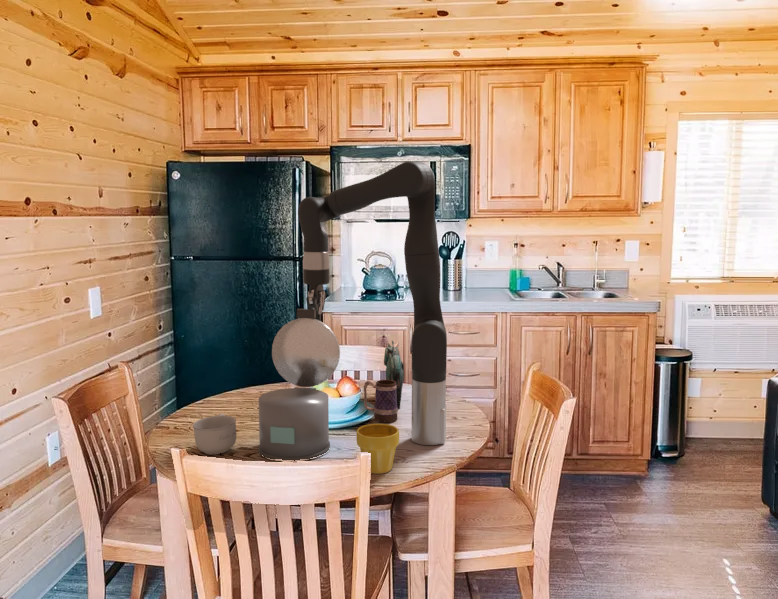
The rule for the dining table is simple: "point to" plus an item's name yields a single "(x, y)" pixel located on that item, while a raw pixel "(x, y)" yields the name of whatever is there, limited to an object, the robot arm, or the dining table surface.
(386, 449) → the plant pot
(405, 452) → the dining table surface
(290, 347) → the cooker lid
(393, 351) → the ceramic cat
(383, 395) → the mug
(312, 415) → the cooker
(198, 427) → the teacup
